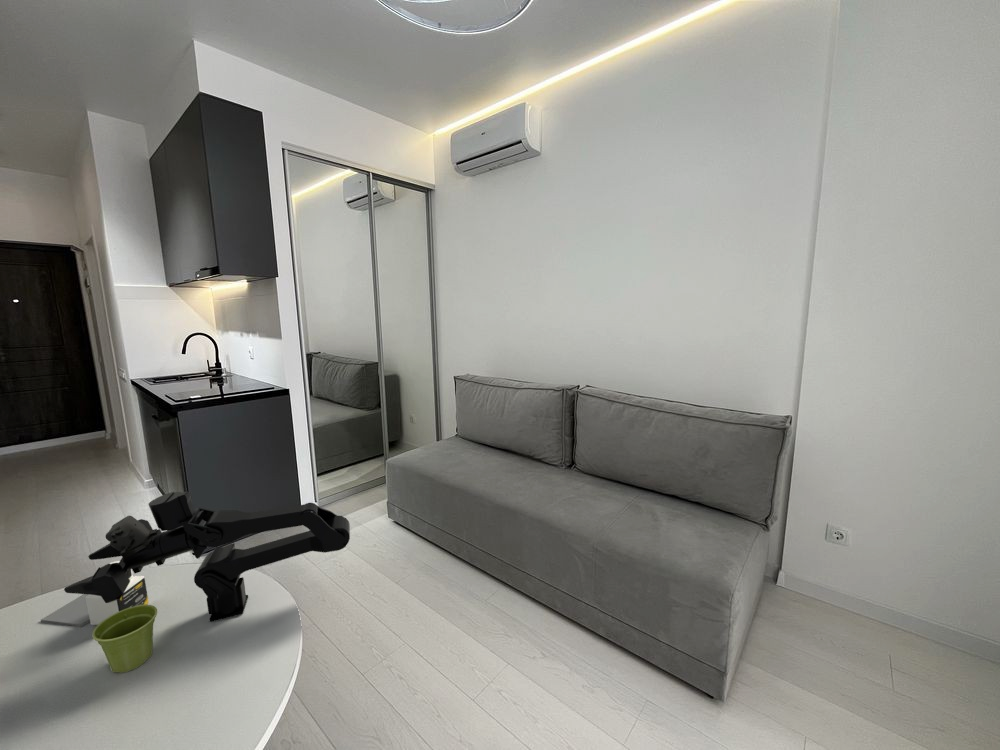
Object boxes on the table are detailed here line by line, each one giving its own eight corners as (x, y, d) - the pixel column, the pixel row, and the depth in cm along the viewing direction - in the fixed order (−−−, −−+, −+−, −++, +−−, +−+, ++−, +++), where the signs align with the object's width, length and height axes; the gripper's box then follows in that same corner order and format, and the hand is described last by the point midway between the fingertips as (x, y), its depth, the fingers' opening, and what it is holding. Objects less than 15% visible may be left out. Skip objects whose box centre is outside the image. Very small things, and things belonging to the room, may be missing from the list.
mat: (124, 598, 99) (124, 596, 99) (82, 626, 90) (81, 624, 90) (86, 594, 101) (86, 592, 101) (41, 621, 92) (40, 619, 92)
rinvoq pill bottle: (122, 625, 90) (112, 576, 88) (90, 625, 90) (80, 576, 89) (149, 602, 97) (141, 556, 95) (120, 603, 97) (111, 556, 96)
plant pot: (160, 634, 88) (154, 597, 86) (166, 660, 81) (159, 621, 80) (99, 660, 81) (92, 621, 80) (100, 691, 75) (92, 649, 73)
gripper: (165, 490, 94) (81, 514, 89) (131, 544, 77) (26, 577, 73) (186, 528, 98) (106, 553, 93) (157, 587, 81) (59, 621, 77)
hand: (78, 573), depth 84 cm, fingers open, 9 cm apart
